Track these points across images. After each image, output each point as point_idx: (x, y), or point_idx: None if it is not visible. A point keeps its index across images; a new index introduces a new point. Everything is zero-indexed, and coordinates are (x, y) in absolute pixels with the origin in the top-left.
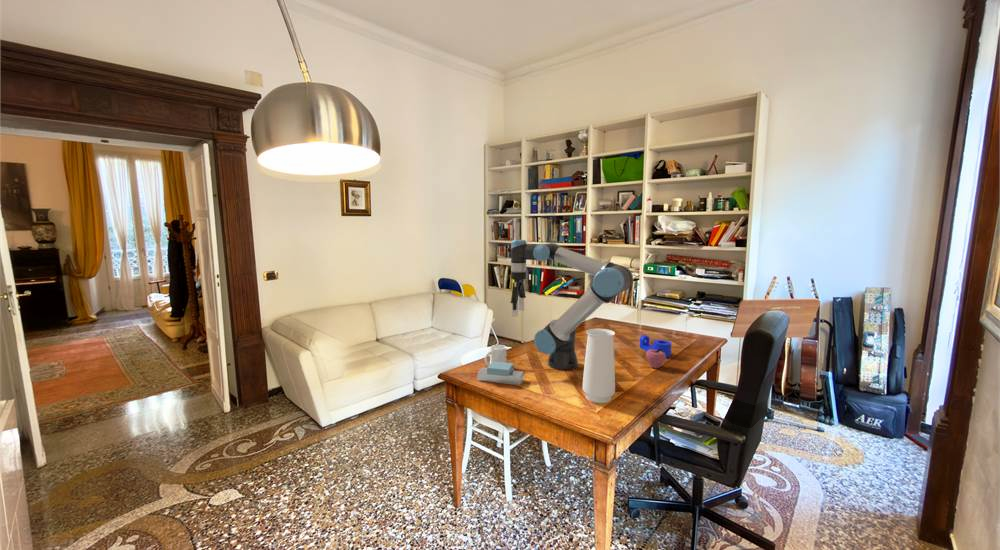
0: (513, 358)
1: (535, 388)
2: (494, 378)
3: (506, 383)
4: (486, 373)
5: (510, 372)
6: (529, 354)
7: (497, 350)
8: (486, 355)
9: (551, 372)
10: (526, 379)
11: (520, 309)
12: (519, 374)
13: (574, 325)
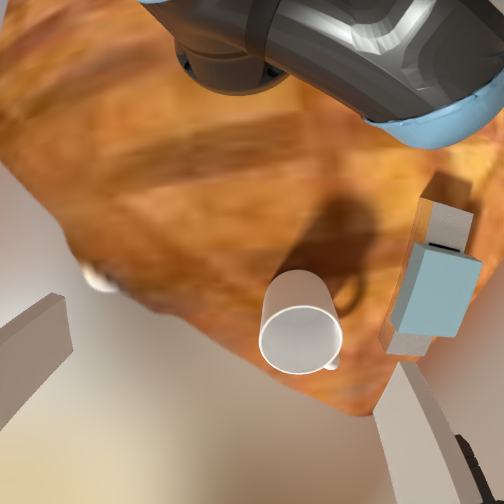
0: (190, 246)
1: (474, 159)
2: None
3: None
4: None
5: (452, 251)
6: (132, 183)
7: (341, 338)
8: (338, 365)
9: None
10: (415, 185)
11: (62, 339)
12: (458, 216)
13: None
